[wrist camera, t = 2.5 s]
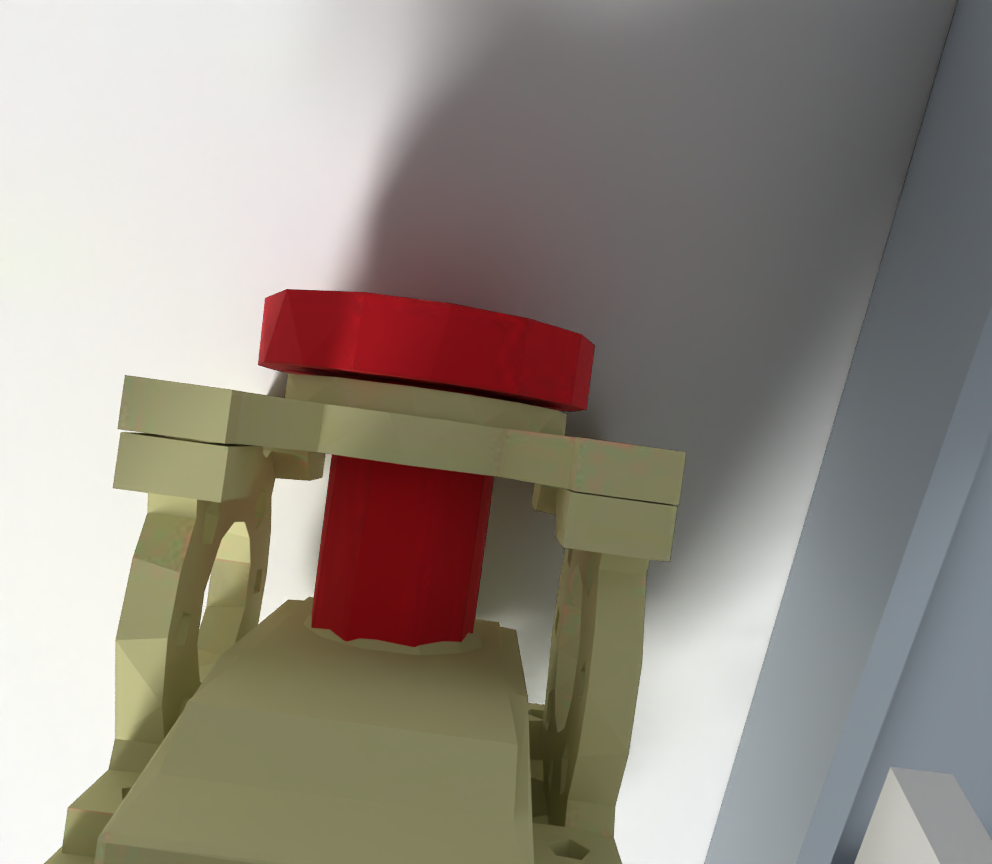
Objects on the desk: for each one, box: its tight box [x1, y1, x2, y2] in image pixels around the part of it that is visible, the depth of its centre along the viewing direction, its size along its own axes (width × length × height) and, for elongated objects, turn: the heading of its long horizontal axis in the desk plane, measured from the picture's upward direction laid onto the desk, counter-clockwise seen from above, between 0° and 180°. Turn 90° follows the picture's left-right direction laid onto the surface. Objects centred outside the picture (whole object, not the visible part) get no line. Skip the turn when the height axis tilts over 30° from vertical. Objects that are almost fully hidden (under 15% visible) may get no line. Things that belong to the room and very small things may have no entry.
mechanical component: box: [44, 289, 686, 864], centre depth 15 cm, size 8×17×20 cm, turn 172°
